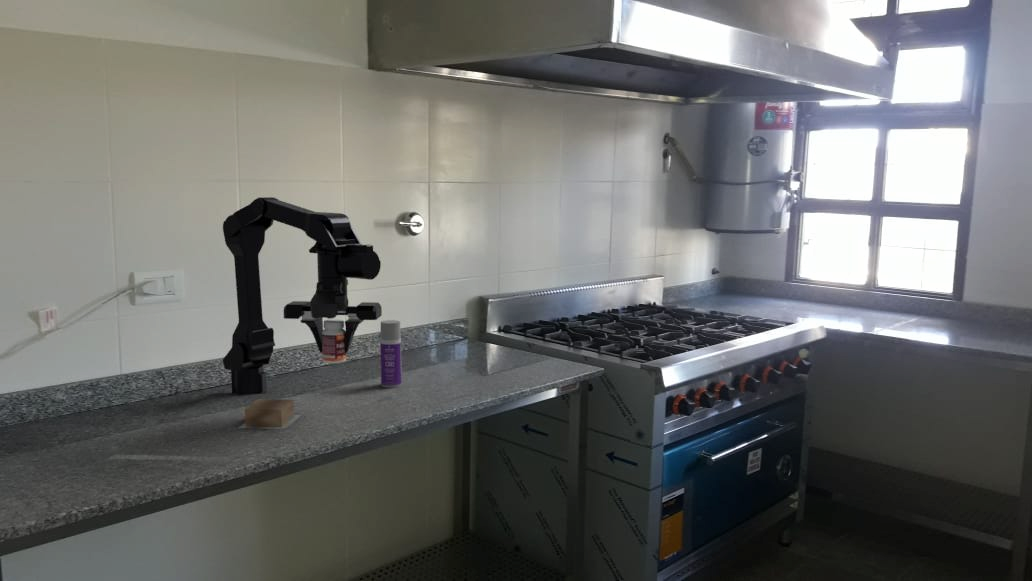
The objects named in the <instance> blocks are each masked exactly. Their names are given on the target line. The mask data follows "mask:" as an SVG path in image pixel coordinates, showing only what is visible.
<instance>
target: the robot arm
mask: <svg viewBox="0 0 1032 581" xmlns="http://www.w3.org/2000/svg"><path fill="white" fill-rule="evenodd" d="M274 221H276V222H278V223H281V224H284V225H287V226H291V227H293V228H296V229H299V230H301V231H303V232H304V233H305V234H306V236H307V237H308V238H310V239H312V240H313V241H315V243H314V245H313V246H311V248H309V249H308V252H309V253H310V254H316V255H317V261H316V262H317V282H316V285H315V286H316V289H315V290H316V291H315V293H314V295H313V296H312V297H311V299H310V301H307V300H306V301H305V300H304V301H303V300H302V301H297V300H296V301H295V300H294V301H291V302H288V303H287V304H286V305H285V306H284V307H283V319H284V320H285V319H286V320H287V319H291V320H296V319H297V320H299V319H300V318H301V319H300V323H301V324H305V325H306V326H307V327H308V328H309V329H310V332H311V333H312V335H313V338H314V340H315V344H316V345H317V348H318V351H319V353H321V354H322V331H323V330H324V321H323V318H325V319H327V320H331V319H336V317H337V316H347V318H348V319H346V320H345V321H344V327H345V331H346V333H345V353H346V354H348V352H349V351H350V348H351V345H352V341H353V339H354V336H355V333H356V331H357V330H358V329H357V328H358V327H359V325H360V324H362V323H363V322H364V321H376V320H378V319H379V318H380V317H382V315H383V314H382V305H381V304H380V302H373V301H372V302H370V301H369V302H365V301H363V302H360V303H359V304H357V306H355V305H349V299H348V285H349V279H358V280H369V281H372V280H375V278H377V277H378V275H379V273H380V271H381V264H382V262H381V260H380V257H379V255H378V253H377V252H376V251H374V245H373V244H368V243H367V244H363V243H362V242H361V240H360V238H359V236H358V235H357V233H356V231H355V229H354V227H353V226H352V224H351V222H350V219H349V216H347V215H346V214H345V213H340V212H338V213H337V212H325V211H314V210H311V209H307V208H305V207H301V206H298V205H295V204H292V203H288V202H286V201H283V200H279V199H278V198H276V197H272V196H270V197H267V196H266V197H256V199H254V200H252V202H250V203H249V204H248V205H245V206H244V207H242V208H240V209H238V210H236V211H234V212H233V214H230V215H228V216H227V217H226V218H225V220H224V221H223V223H222V232H223V237H224V242H225V245H226V246H227V249H228V250H229V251H230V252H231V254H232V256H233V258H234V273H235V275H234V276H235V288H236V301H237V302H236V303H237V316H238V323H237V325H236V327H235V329H234V331H233V332H232V339H231V348H230V350H229V351H227V353H226V354H225V356H224V357H223V359H222V363H223V367H224V369H225V370H228V371H230V379H231V380H230V381H231V384H230V385H231V394H235V395H241V396H243V395H262V394H264V393H265V392H267V391H268V388H267V386H268V385H267V372H266V371H264V370H265V369H264V368H265V365H266V366H267V365H270V361H271V357H272V354H274V347H275V346H276V343H275V339H274V336H275V335H274V334H275V331H274V328H273V327H268V326H267V324H266V323H265V321H264V320H263V319H264V318H263V306H262V304H263V303H262V292H261V291H262V290H261V278H260V276H261V274H260V264H259V263H260V261H259V260H260V259H259V255H260V252H261V250H262V249H263V246H264V245H265V239H266V231H267V230H268V229H270V227H272V226H273V224H274Z"/></svg>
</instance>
